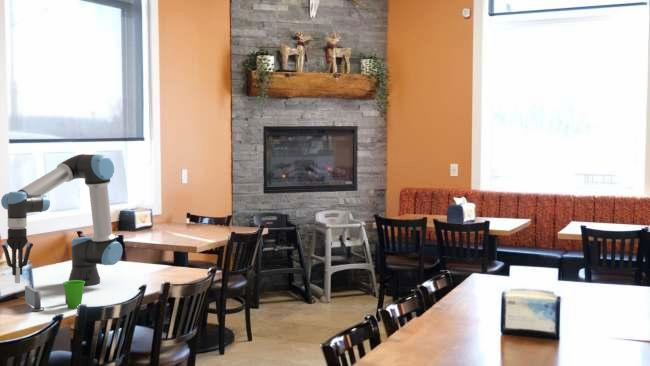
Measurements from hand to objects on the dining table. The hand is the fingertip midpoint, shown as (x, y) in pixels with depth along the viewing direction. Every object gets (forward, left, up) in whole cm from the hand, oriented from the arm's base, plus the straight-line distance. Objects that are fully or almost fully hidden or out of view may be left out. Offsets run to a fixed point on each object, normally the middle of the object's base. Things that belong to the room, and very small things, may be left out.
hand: (17, 282), depth 331 cm
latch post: (-15, +15, -11) cm, 24 cm away
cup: (-10, +22, -11) cm, 26 cm away
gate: (-3, +6, -10) cm, 11 cm away
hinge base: (+1, +12, -11) cm, 16 cm away
